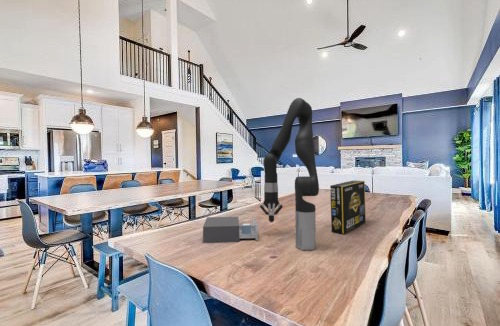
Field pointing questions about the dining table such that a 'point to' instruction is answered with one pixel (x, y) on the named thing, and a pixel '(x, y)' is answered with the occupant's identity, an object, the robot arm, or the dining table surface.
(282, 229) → the dining table surface
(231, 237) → the housing
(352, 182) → the box
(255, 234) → the tray
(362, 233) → the dining table surface
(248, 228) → the cartridge
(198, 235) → the dining table surface
